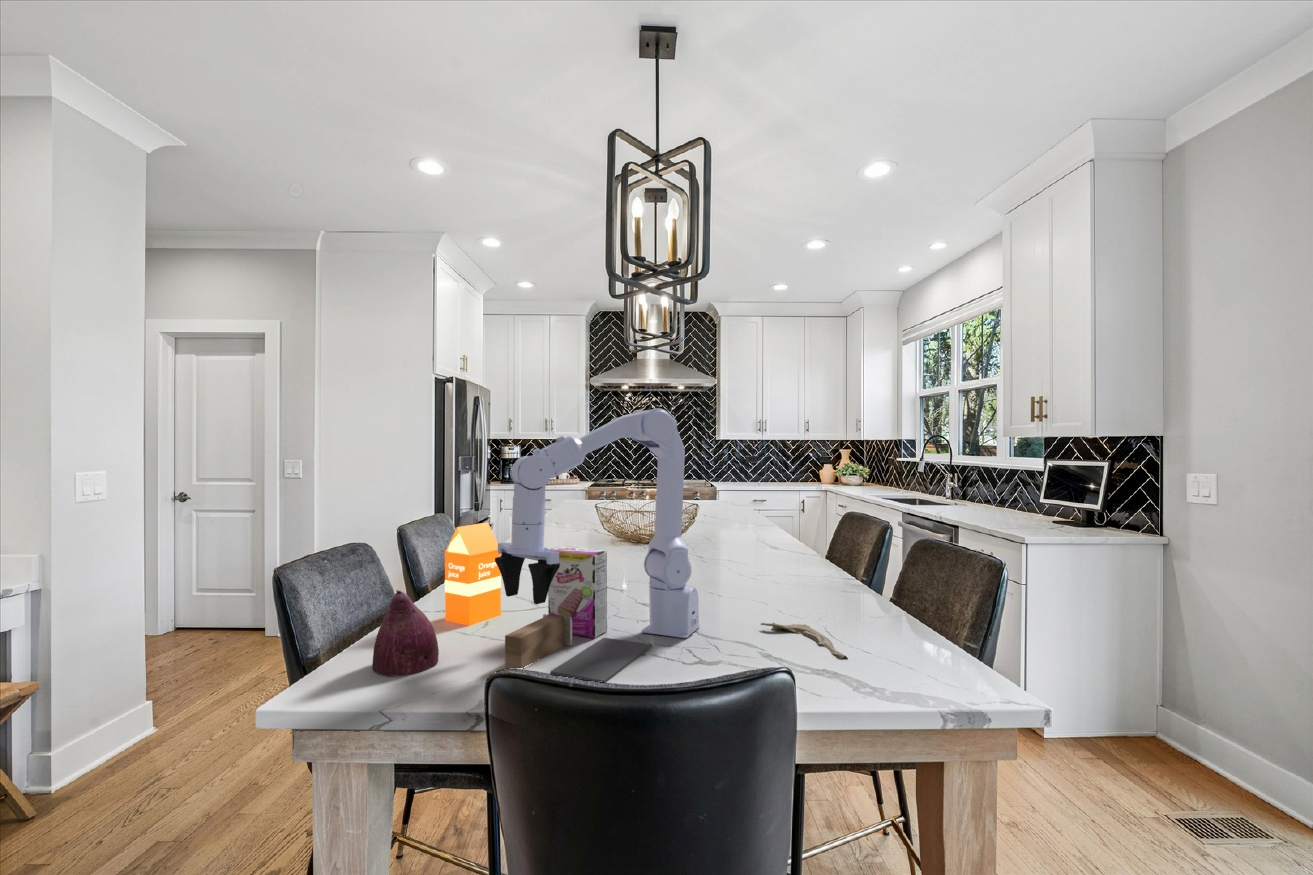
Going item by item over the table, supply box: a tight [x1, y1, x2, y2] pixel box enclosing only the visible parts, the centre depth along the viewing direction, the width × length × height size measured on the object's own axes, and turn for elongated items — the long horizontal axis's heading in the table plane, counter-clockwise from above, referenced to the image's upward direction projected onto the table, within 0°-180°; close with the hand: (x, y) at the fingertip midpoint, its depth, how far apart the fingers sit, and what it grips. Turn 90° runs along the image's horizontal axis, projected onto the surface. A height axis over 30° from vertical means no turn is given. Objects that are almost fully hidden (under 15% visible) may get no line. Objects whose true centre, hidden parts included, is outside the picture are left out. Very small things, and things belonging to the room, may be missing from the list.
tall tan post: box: [504, 613, 573, 670], centre depth 106 cm, size 14×6×6 cm, turn 156°
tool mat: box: [549, 637, 653, 683], centre depth 104 cm, size 10×18×1 cm, turn 156°
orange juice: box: [444, 522, 502, 626], centre depth 129 cm, size 8×9×20 cm
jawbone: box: [760, 622, 849, 660], centre depth 113 cm, size 9×20×2 cm, turn 35°
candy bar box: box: [547, 545, 608, 639], centre depth 119 cm, size 11×5×16 cm, turn 64°
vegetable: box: [371, 589, 440, 678], centre depth 101 cm, size 10×10×15 cm
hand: (525, 599), depth 107 cm, fingers open, 7 cm apart
